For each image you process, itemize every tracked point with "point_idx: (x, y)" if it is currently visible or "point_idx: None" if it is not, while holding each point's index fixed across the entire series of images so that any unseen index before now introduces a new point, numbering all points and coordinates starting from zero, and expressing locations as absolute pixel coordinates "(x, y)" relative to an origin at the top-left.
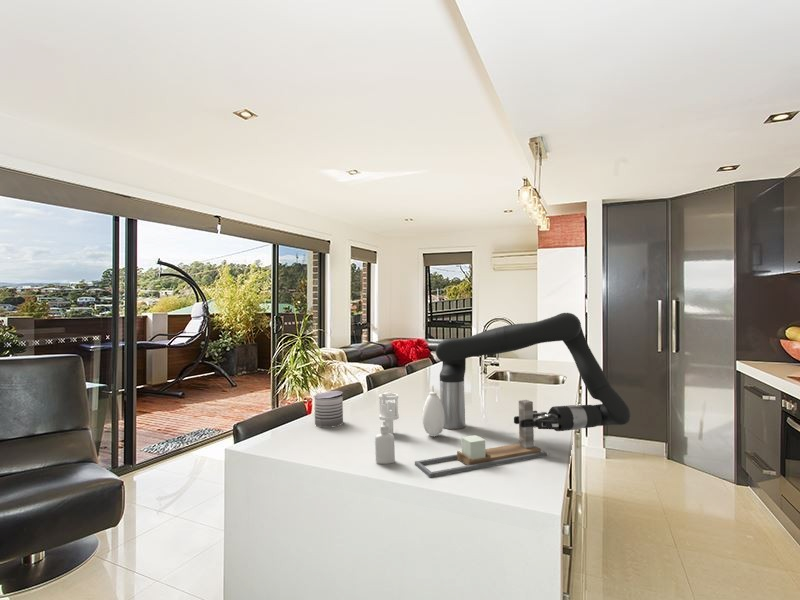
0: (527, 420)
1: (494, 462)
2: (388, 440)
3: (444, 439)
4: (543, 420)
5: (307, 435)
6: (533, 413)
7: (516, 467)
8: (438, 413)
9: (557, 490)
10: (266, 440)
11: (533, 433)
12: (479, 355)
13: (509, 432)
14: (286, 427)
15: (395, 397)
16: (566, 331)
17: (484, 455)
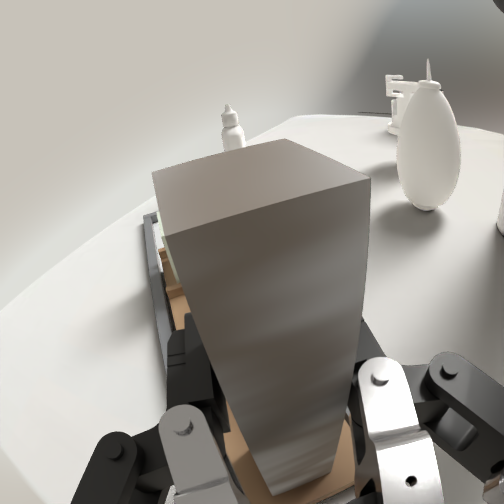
0: (188, 359)
1: (155, 314)
2: (222, 139)
3: (406, 223)
4: (102, 490)
5: (359, 126)
6: (397, 446)
7: (121, 377)
8: (408, 141)
9: None
10: (330, 118)
11: (262, 475)
12: None
13: None
14: (385, 118)
15: (399, 86)
16: None
17: (176, 280)
